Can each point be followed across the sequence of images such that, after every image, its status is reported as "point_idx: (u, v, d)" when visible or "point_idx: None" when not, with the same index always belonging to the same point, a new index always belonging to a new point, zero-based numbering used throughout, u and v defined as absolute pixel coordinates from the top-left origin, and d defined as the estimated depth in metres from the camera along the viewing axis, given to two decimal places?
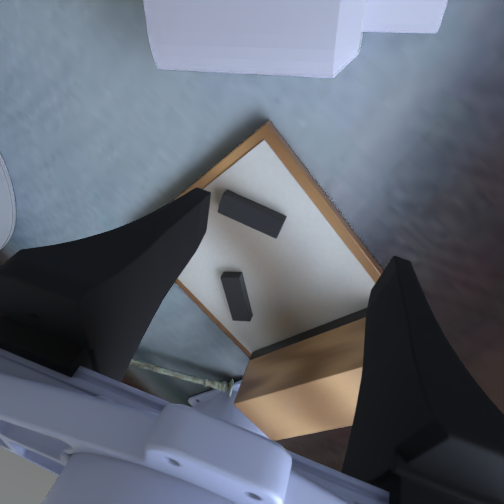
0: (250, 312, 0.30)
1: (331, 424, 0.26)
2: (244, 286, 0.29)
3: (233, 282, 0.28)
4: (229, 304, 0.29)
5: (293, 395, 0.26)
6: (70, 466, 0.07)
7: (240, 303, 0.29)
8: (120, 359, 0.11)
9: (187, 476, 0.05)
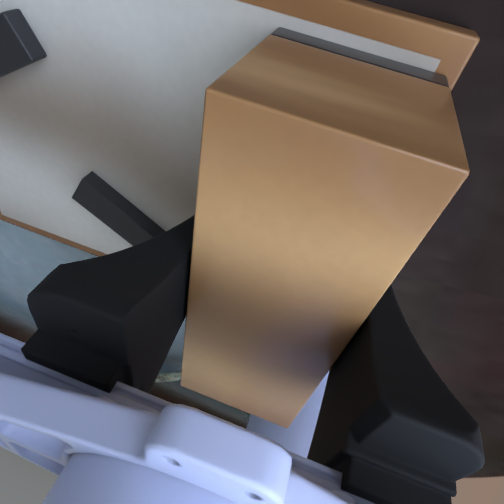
0: (155, 229, 0.17)
1: (319, 352, 0.11)
2: (111, 191, 0.17)
3: (86, 193, 0.17)
4: (119, 234, 0.18)
5: (206, 322, 0.12)
6: (70, 466, 0.07)
7: (125, 223, 0.17)
8: (151, 371, 0.11)
9: (187, 476, 0.05)
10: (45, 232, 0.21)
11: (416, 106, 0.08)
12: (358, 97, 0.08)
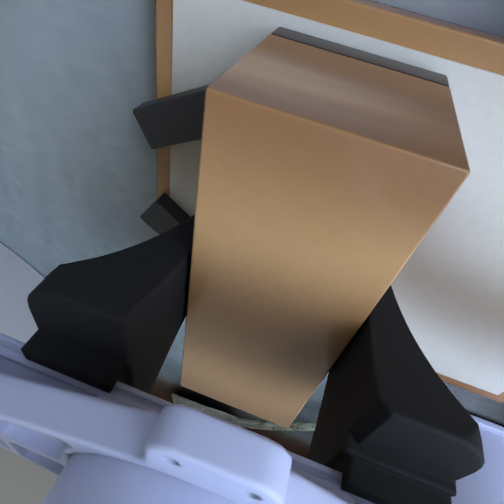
0: None
1: (320, 351, 0.11)
2: (181, 214, 0.17)
3: (157, 214, 0.17)
4: None
5: (207, 322, 0.12)
6: (70, 466, 0.07)
7: None
8: (151, 371, 0.11)
9: (187, 476, 0.05)
10: None
11: (416, 105, 0.08)
12: (358, 96, 0.08)
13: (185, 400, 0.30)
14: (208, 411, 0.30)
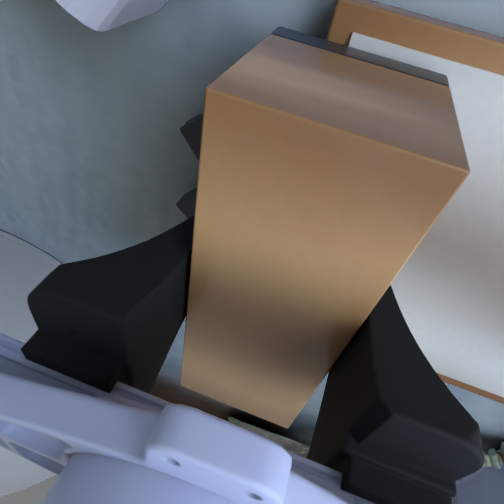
0: None
1: (320, 351, 0.11)
2: None
3: (195, 204, 0.17)
4: None
5: (206, 322, 0.12)
6: (70, 466, 0.07)
7: None
8: (151, 371, 0.11)
9: (187, 476, 0.05)
10: None
11: (416, 105, 0.08)
12: (358, 96, 0.08)
13: (247, 425, 0.30)
14: (273, 437, 0.29)
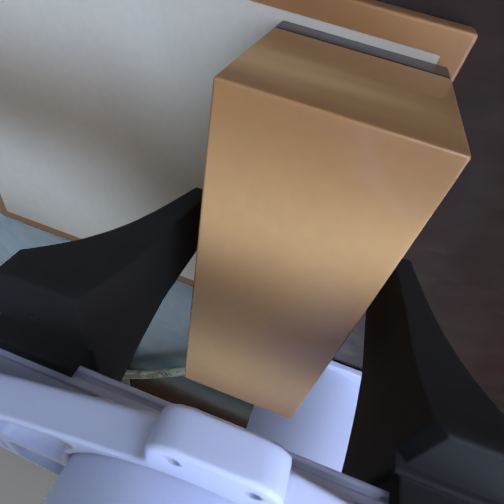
0: None
1: (323, 340, 0.11)
2: None
3: None
4: None
5: (211, 312, 0.12)
6: (70, 466, 0.07)
7: None
8: (120, 359, 0.11)
9: (187, 476, 0.05)
10: (49, 228, 0.22)
11: (418, 95, 0.08)
12: (362, 86, 0.08)
13: None
14: None
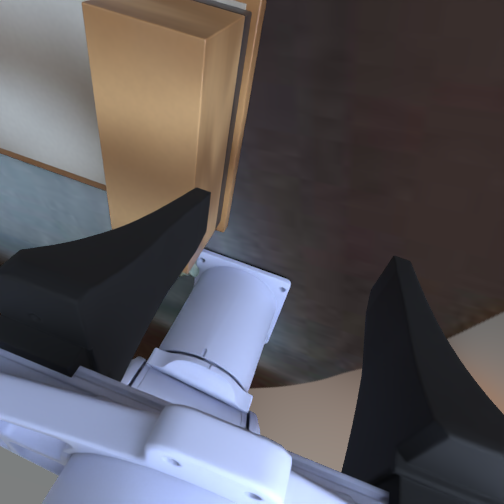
0: None
1: (183, 187, 0.18)
2: None
3: None
4: None
5: (116, 176, 0.19)
6: (70, 466, 0.07)
7: None
8: (120, 359, 0.11)
9: (187, 476, 0.05)
10: (23, 157, 0.28)
11: (207, 19, 0.15)
12: (172, 12, 0.14)
13: None
14: None
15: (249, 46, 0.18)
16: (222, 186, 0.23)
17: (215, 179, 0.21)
